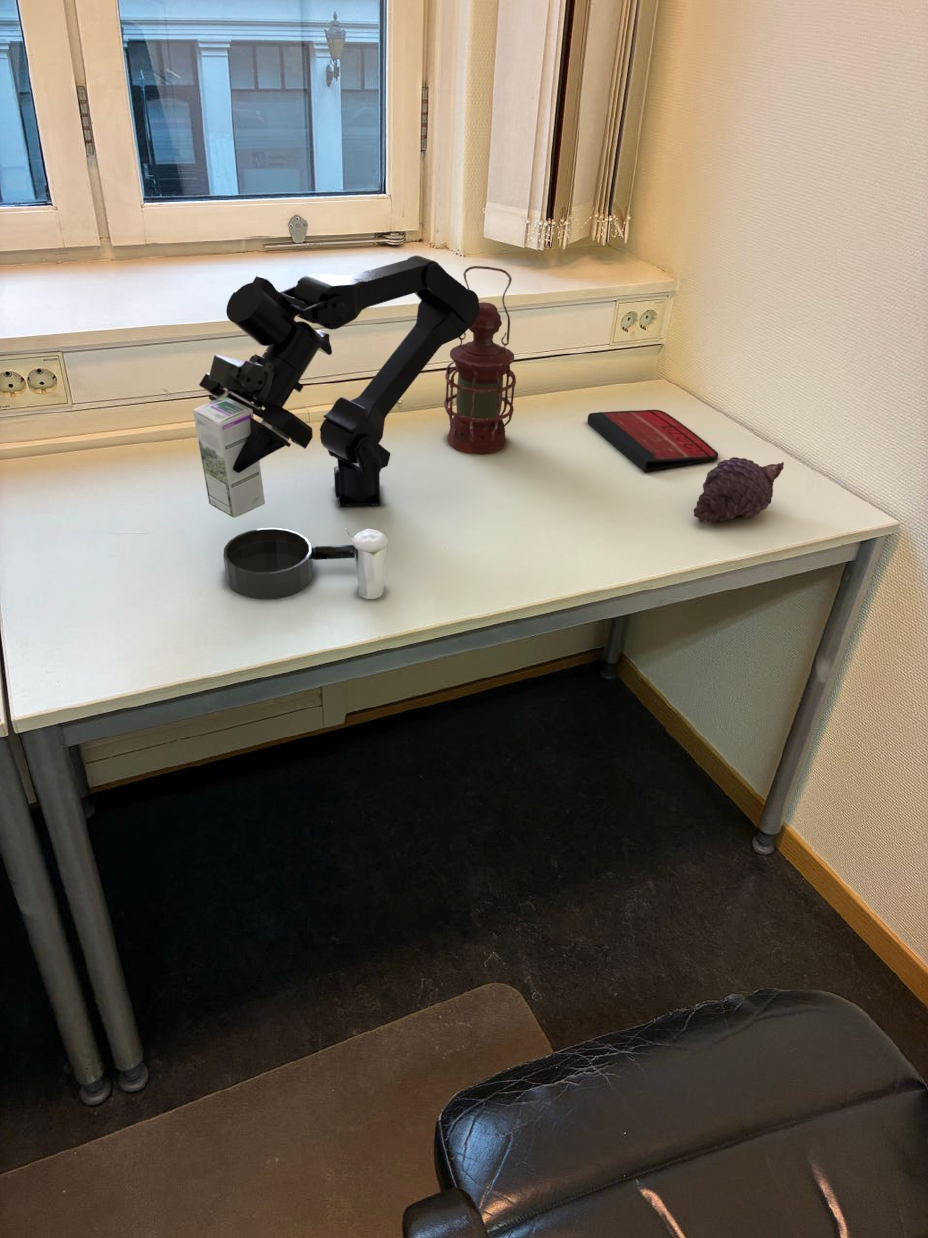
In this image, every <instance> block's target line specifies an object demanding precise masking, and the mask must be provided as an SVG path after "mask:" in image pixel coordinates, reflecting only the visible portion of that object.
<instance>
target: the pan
mask: <svg viewBox="0 0 928 1238" xmlns="http://www.w3.org/2000/svg"><path fill="white" fill-rule="evenodd" d="M312 547H313V546H312V544H311V542H310V540H309V539H308V538H307V537H306V536H304V535H303V534H301V533H300V532H297V531H293V530H291V529H288V528H281V527H280V528H278V527H262V528H257V529H251V530H247V531H245V532H242V533H240V534H238V535H236V536H234V537H233V538H231V539H229V540H228V542H227V543H226V544H225V546H224V548H223V556H222V557H223V565H224V573H225V579H226V583H227V585H229V587H230V589H232V591H234V592H236V593H237V594H239V595H241V596H244V597H247V598H250V599H257V600H258V599H259V600H274V599H275V600H276V599H281V598H285V597H289V596H292V595H294V594H296V593H298V592H300V591H302V590H303V589H305V588H306V587H307V586H309V584H310V582H312V579H313V576H314V566H313V564H314V563H313V559H312Z"/></svg>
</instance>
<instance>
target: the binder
mask: <svg viewBox="0 0 928 1238" xmlns="http://www.w3.org/2000/svg"><path fill="white" fill-rule="evenodd" d="M586 422H587V424H588V425H589V426H590V427H591V428H593V429H594V430H595V431H596V432H597V433H598V434H599V435H600V436H602V438H604V439H605V440H606V441H607V442H608V443H610V444H611V445H612V446H613V447H614V448H616V449H617V450H618V451H619V452H621V453H622V455H624V456H625V457H626V458H628V459H629V460H630V461H631V462H632V463H633V464H635V465H636V466H637V467H638V468H640V469H641V470H642V471H643V472H644V473H650V472H651V473H652V472H655V471H660V470H665V469H671V468H676V467H682V466H687V465H694V464H699V463H706V462H711V461H716V460H718V459H719V453H718V451H716V450H715V449H714V448H713V447H712V446H711V445H710V444H709V443H708V442H707V441H705V440H704V439H703V438H701V437H700V436H699V435H697V434H696V432H694V431H692V430H691V429H690V428H688V427H687V426H686V425H684V424H683V423H682V422H681V421H679V420H678V419H676V418H675V417H674V416H671V415H670V414H669V413H667V412H666V411H663V410H659V409H644V410H643V409H642V410H641V409H640V410H617V411H598V412H590V413H588V414H587V421H586Z"/></svg>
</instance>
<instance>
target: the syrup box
mask: <svg viewBox="0 0 928 1238" xmlns="http://www.w3.org/2000/svg"><path fill="white" fill-rule="evenodd" d="M192 413H193V418H194V423H195V424H194V425H195V429H196V430H195V431H196V435H197V442H198V447H199V452H200V453H199V454H200V459H201V463H202V464H201V465H202V470H203V476H204V482H205V488H206V493H207V499H208V504H209V505H210V506H212V507H213V508H215V509H217V510H219V511H221V512H223V513H225V514H226V515H228V516H230V517H231V518H233V519H235V518H238V517H240V516H242V515H245V514H247V513H249V512H251V511H253V510H255V509H258V508H260V507H262V506H263V505H265V504H266V500H265V492H264V485H263V477H262V469H261V462H260V460H259V461H257V462H256V463H254V464H253V465H251V466H250V467H248V468H246V469H245V470H243V471H242V472H240V473H237V472H235V471H234V470H233V466H234V464H235V461H236V459H237V457H238V455H239V453H240V451H241V450H242V448H243V446H244V444H245V442H246V440H247V439H248V437H249V435H250V432H251V430H250V417H251V418H252V419H254V420H255V418H254V417H255V415H254V414H253V410H252V409H250V408H248V407H246V406H244V405H242V404H240V403H238V402H236V401H234V400H231V399H229V398H227V397H224V398H220V399H217V400H214V401H211V400H210V401H208V402H206V403H204V404H202V405H200V406H197V407H196V408H193V409H192Z"/></svg>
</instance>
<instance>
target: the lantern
mask: <svg viewBox="0 0 928 1238" xmlns="http://www.w3.org/2000/svg"><path fill="white" fill-rule="evenodd" d="M473 269H474V270H475V269H480V270H491V271H496V272H501V273H503V274H505V275H506V276H507V277H508V283H507V285H506V288H505V290H504V292H503V294H502V298H501V302H502V307H503V308H504V312H505V314H506V317H507V328H506V329H507V330H506V332H504V335H503V336H502V338H501V339H500V342H501V345H500V344H498V343H496V342H494V340H493V339H494V335H495V334H496V333H498V332H499V331H500V328H501V326H502V325H503V321H502V317H501V314H500V313H499V312H498V308H497V305H495V304H494V303H491V302H486V301H484V302H483V301H482V302H479V306H480V310H479V316H478V318H477V320H476V321H475V323H474V324H473V325H472V326H471V327H470V328H469V329H468V330H469V331H470V332H471V333H473V334H472V338H473V340H472V341H468V342H466V343H463V340H466V336H467V333H466V332H465V333H464V334H463V337H459V338H458V339H459V341H460V344H459V345H456V346H454V347H452V348H451V349H450V351H449V357H450V359H451V360H452V362H450V363H449V364H448V365H447V366H446V372H445V376H444V379H445V381H446V382H445V383H446V386H445V399H444V401H443V407H444V409H445V412H446V414H447V415H448V419H449V426H450V427H449V431H448V434H447V437H446V440H447V443H448V444H449V446H450V447H452V448H453V449H456V450H457V451H459V452H462V453H465V454H474V455H475V454H476V455H488V454H493V453H497V452H498V451H501V450H503V449H504V448H505V446H506V444H507V439H506V427H507V426H508V424H509V423H510V422H511V420H512V419H513V415H514V412H515V409H514V395H515V394H514V393H515V388H516V384H517V379H516V375H515V373H514V371H513V370H511V365H512V364H513V362H514V361H515V353H514V352H513V351H511V349H508V348H506V346H508V345H509V344H510V343H509V342H510V334H511V333H510V331H511V317H510V314H509V312H508V310H507V307H506V305H505V296H506V293H507V291H508V289H509V288H510V286H511V284H512V279H513V278H512V275H511V274H510V273H509V272H508V271H507V270H505V269H502V268H499V267H491V266H483V265H482V266H481V265H472V266H469V267H468V268H466V269H465V270H464V272H463V280H464V282H465V285H466V288H467V289H469V290H471V289H470V286H469V283H468V280H467V273H468V272H469V271H470V270H473ZM505 337H506V342H504V339H505ZM502 345H503V346H502ZM452 365H455V367H452V368H451V366H452ZM457 373H458V375H457V383H455V375H456V374H457ZM505 375H506V376H505ZM450 376H451V377H450ZM504 376H505V377H506V380H505V381H506V382H505V386H504ZM510 378H511V382H510V384H509V381H510ZM454 388H455V389H456V393H455V394H454ZM449 389H450V394H449ZM510 389H511V395H510V399H508V398H509V396H508V392H509V390H510ZM503 392H505V393H504V394H505V395H504V396H503ZM449 395H450V396H449ZM454 399H455V405H456V412H454V410H453V405H454V404H453V403H454ZM502 405H503V410H502ZM508 406H509V409H508V411H507V413H506V410H507V407H508ZM501 410H502V412H501ZM506 418H508V420H506V422H504V419H506Z"/></svg>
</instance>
